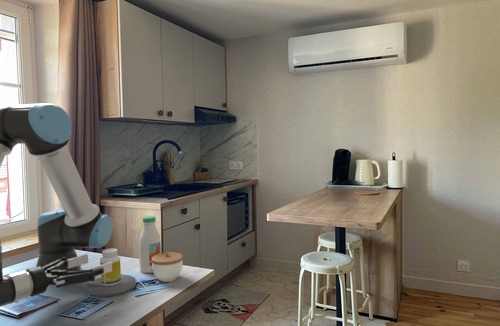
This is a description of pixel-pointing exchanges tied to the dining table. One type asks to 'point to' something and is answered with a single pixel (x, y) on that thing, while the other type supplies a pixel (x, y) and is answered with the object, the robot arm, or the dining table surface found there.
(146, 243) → the milk bottle
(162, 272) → the lidded jar
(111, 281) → the pill bottle
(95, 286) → the slate plate
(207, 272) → the dining table surface
